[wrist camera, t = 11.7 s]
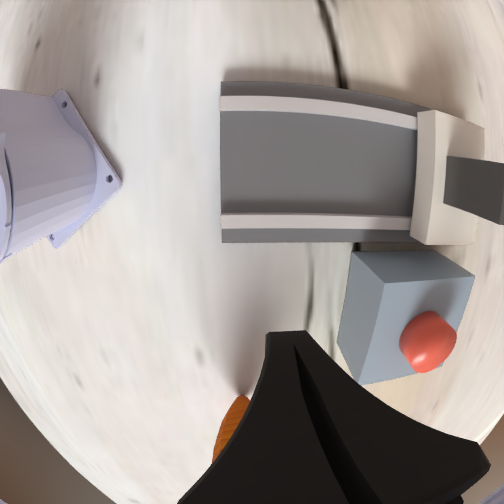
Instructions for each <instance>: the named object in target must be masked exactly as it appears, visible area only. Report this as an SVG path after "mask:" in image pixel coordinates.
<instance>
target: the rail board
mask: <svg viewBox="0 0 504 504" xmlns="http://www.w3.org/2000/svg"><path fill="white" fill-rule="evenodd" d="M430 110H432V109H429V108H426V107H423V106H419V105H415V104H412V103H408V102H404V101H400V100H396V99H392V98H388V97H383V96H379V95H374V94H369V93H364V92H358V91H353V90H346V89H340V88H333V87H325V86H317V85H307V84H296V83H281V82H255V81H231V82H221V96H220V170H221V215H220V220H221V229H222V243H264V242H420V241H418V240H416V239H415V238H413V237H411V236H410V229H411V222H412V214H413V205H414V195H415V184H416V169H417V142H418V120H417V112H423V111H430Z"/></svg>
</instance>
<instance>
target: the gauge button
mask: <svg viewBox="0 0 504 504" xmlns="http://www.w3.org/2000/svg"><path fill="white" fill-rule="evenodd" d="M456 339H457V334H456V331H455V330H454V329H453V328H452V327H451V326H450V325H449V324H448V323H447V322H446V321H445V320H444V319H443V318H442V317H441V316H440V315H439V314H438V313H437V312H435V311H427V312H424V313H421V314H419V315H418V316H416V317H415V318H414V319H413V320H411V321H410V322H409V324H408V325H407V326H406V327H405V329H404V330H403V332H402V334H401V336H400V340H399V349H400V351H401V352H402V354H403V355H404V356H405V358H406V359H407V361H408V362H409V364H410V365H411V366H412V368H413V369H414V371H416V372H418V373H425V372H428V371H431V370H433V369H435V368H436V367H438V366H439V365H440V364H441V363H442V362H444V361H445V359H446V358H447V357H448V356H449V355H450V353H451V352H452V350H453V348H454V346H455V343H456Z"/></svg>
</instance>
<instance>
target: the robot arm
mask: <svg viewBox="0 0 504 504" xmlns="http://www.w3.org/2000/svg"><path fill="white" fill-rule="evenodd" d="M66 102H67V106H66V107H64V106H65V103H66ZM110 175H111V176H112V177H113V180H112V182H110V181H109V179H108V178H109V176H110ZM121 186H122V182H121V179H120V178H119V176H118V175H117V173H116V172H115V170H114V169H113V167H112V166H111V164H110V163H109V161H108V160H107V158H106V156H105V155H104V153H103V152H102V150H101V149H100V147H99V145H98V144H97V142H96V141H95V139H94V137H93V136H92V134H91V133H90V131H89V129H88V128H87V126H86V124H85V123H84V121H83V119H82V118H81V116H80V114H79V113H78V111H77V109H76V107H75V106H74V104H73V102H72V100H71V99H70V97H69V95H68V93H67V92H66V91H65V90H62V89H61V90H59V91H57V93H56V94H55V95H54V96H53V97H48V96H43V95H37V94H32V93H26V92H20V91H14V90H7V89H0V263H2V262H3V261H5V260H7V259H8V258H10V257H12V256H13V255H15V254H17V253H18V252H20V251H22V250H23V249H25V248H27V247H29V246H30V245H32V244H34V243H36V242H37V241H39V240H41V239H43V238H45V237H47V238H48V240H49V241H50V243H51V244H52V246H53V247H54V248H59V247H60V246H62V245H63V243H64V242H65V241H66V240H67V239H68V238H69V237H70V236H71V235H72V234H73V233H74V232H75V231H76V230H77V229H78V228H79V227H80V226H81V225H82V224H83V223H84V222H85V221H86V220H87V219H88V218H89V217H90V216H91V215H92V214H93V213H94V212H96V211H97V210H98V209H99V208H100V207H101V206H102V205H103V204H104V203H105V202H106V201H107V200H109V199H110V198H111V197H112V196H113V195H114V194H115V193H116V192H118V191H119V190H120V188H121ZM52 234H53V235H54V238H53V237H52ZM490 466H491V464H490V463H489V461H488V459H487V457H486V456H485V454H484V452H483V451H482V449H481V447H480V446H479V444H478V443H477V442H474V441H470V440H467V439H463V438H459V437H456V436H453V435H449V434H446V433H443V432H441V431H438V430H436V429H433V428H431V427H428V426H426V425H424V424H421V423H419V422H417V421H415V420H413V419H411V418H409V417H407V416H406V415H404V414H402V413H400V412H398V411H397V410H395V409H393V408H392V407H390V406H388V405H387V404H385V403H384V402H382V401H381V400H379V399H378V398H377V397H375V396H374V395H372V394H371V393H370V392H368V391H367V390H366V389H364V388H363V387H362V386H361V385H359V384H358V383H357V382H356V381H355V380H354V379H352V378H351V377H350V376H349V375H348V374H347V373H346V372H345V371H344V370H343V369H342V368H341V367H340V366H339V365H338V364H337V363H336V362H335V361H334V360H333V359H332V358H331V357H330V356H329V355H328V354H327V353H326V352H325V351H324V350H323V349H322V348H321V347H320V346H319V345H318V343H317V342H316V341H315V340H314V339H313V338H312V337H311V336H310V334H309V333H308V332H307V331H306V330H303V331H283V332H269V333H268V334H266V344H265V359H264V363H263V367H262V370H261V374H260V377H259V380H258V383H257V385H256V388H255V391H254V393H253V396H252V398H251V400H250V403H249V405H248V407H247V409H246V411H245V413H244V415H243V417H242V419H241V421H240V422H239V424H238V426H237V428H236V429H235V431H234V433H233V434H232V436H231V438H230V439H229V441H228V442H227V444H226V445H225V447H224V448H223V450H222V451H221V452H220V454H219V455H218V456H217V458H216V459H215V460H214V462H213V463H212V464H211V466H210V467H209V468H208V469H207V471H206V472H205V473H204V474H203V475H202V477H201V478H200V479H199V480H198V481H197V482H196V483H195V484H194V485H193V486H192V487H191V488H190V489H189V490H188V491H187V492H186V493H185V495H184V496H183V497H182V498H181V499H180V500H179V501H178V503H177V504H463V502H464V501H463V499H462V497H461V494H463V493H464V492H465V491H466V490H468V489H469V488H470V487H471V486H473V485H474V484H475V483H476V482H477V481H479V480H480V479H481V478H482V477H483V476H484V475H485V474H486V473H487V472H488V471H489V469H490ZM0 504H6V503H5V502H4V501H2V500H1V499H0ZM477 504H504V484H503V485H502V486H500V487H499V488H498V489H496V490H495V491H494V492H492V493H491V494H490V495H488V496H487V497H486V498H484V499H483V500H481V501H480V502H479V503H477Z"/></svg>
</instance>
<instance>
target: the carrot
mask: <svg viewBox="0 0 504 504" xmlns="http://www.w3.org/2000/svg"><path fill="white" fill-rule="evenodd" d="M249 403H250V400H249V399H248V398H247V397H246V396H243V395H241V396H239V397H237V398H236V400H235V401H234V403H233V404H232V405H231V407H230V408H229V410H228V412H227V413H226V415H225V417H224V419H223V421H222V423H221V426H220V429H219V433H218V436H217V439H216V443H215V447H214V452H213V459H212V463H213V462H214V460H215V459H216V458H217V456H218V455H219V454H220V452H221V451H222V450H223V448H224V447H225V445H226V444H227V442H228V441H229V439H230V438H231V436H232V434H233V433H234V431H235V429H236V428H237V426H238V424H239V422H240V421H241V419H242V417H243V415H244V413H245V411H246V409H247V407H248V405H249Z"/></svg>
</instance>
